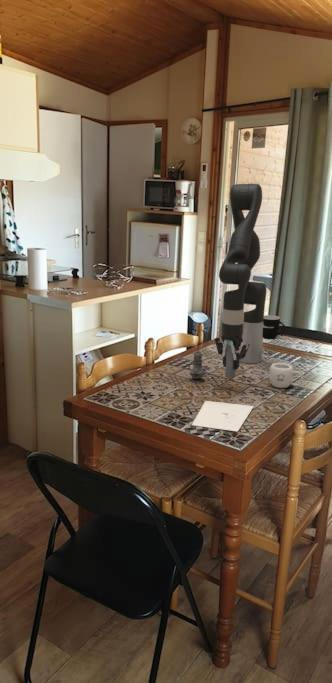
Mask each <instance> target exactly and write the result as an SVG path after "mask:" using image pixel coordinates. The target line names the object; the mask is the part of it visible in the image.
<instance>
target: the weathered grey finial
mask: <svg viewBox="0 0 332 683" xmlns="http://www.w3.org/2000/svg"><path fill="white" fill-rule="evenodd" d="M202 356H203V354H202V352H200V351H199V349H197V351H196V352H194V353H193V361H192V363H193V366H192V367H193V368H192V369H189V375H190V376H191V378H189V381H190V382H192V383H195V384H196V383H197V384H200V383H203V382H205V380H204V379H205V378H203V377H204V376H205V373H206V371H205V369H203V366H202V365H203V361H202V360H203V359H202Z"/></svg>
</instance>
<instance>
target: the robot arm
mask: <svg viewBox="0 0 332 683" xmlns="http://www.w3.org/2000/svg"><path fill="white" fill-rule="evenodd" d="M229 201H230V208H231V214H232V219H233V228H234V230H233V233H232V234H231V236H230V239H229V246H228V252H227V254H226V257H225V258H224V260H223V262H222V264H221V266H220V269H219V272H218V278H219V280H220V282H221V283H222V284H224V285H236V286H238V288H237V289H233V290H232V289H231V290H228V291H225V292H224V293H223V305H222V306H223V309H222V315H221V336H218V337H216V338H214V343H215V346H216V350H217V353H218V355H221V357H222V367H223V368H226V348H227V339H228V340H232V341H231V342H230V345H231V350H232V354H233V358H234V360H233V370H238V369H239V368H240V363H244V364H259V363H260V362H261V361H262V359H263V358H262V357H263V345H264V344H263V343H264V338H263V337H262V333H263V319H264V316H265V309H266V308H265V306H266V298H267V285H266V284H265V283H264V282H259V281H258V282H256V281H250V279H251V277H252V269H253V268H254V267H255V266H256V264H257V262H258V261H259V259H260V256H261V246H260V244H261V243H260V238H259V236H258V234H257V233H256V231H255V226H256V225H257V224H256V223H257V221H258V217H259V213H260V210H261V206H262V202H263V189H262V187H261V185H260V184H258V183H236V184H232V186H231V188H230V193H229ZM244 211H248V213H247V215H246V216H245V215H244ZM245 305H251V306H252V305H254V306H255V308H254V309H251V310H249V311H244V310H245V309H244V307H245ZM236 349H237V350H236ZM235 350H236V351H235Z"/></svg>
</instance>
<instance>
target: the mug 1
mask: <svg viewBox="0 0 332 683" xmlns="http://www.w3.org/2000/svg"><path fill="white" fill-rule="evenodd" d="M280 325H282V328H283V330H282V332H279V328H280ZM285 326H286V325H285V324H284V323H283V322H282V321H281V318H280V317H279V316H278V315H272V314H271V315H269V314H267V315H265V314H264V319H263V333H262V338H263V339H266V340H274V339H276V338H277V337H278V336H280V335H283V334H284V333H285V331H286V327H285Z"/></svg>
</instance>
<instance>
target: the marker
mask: <svg viewBox="0 0 332 683" xmlns="http://www.w3.org/2000/svg"><path fill="white" fill-rule="evenodd" d="M231 341H232V340H228V339H227V348H226V367H225V369H224V370H225V371H224V372H225V373H224V374H225V375H224V377H226V378H228V379H235V378H236V370H237V369H236V370H233V360H234V358H233V354H232V350H231V345H230V342H231ZM236 350H237V349H236ZM236 350H235V351H236Z"/></svg>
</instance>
